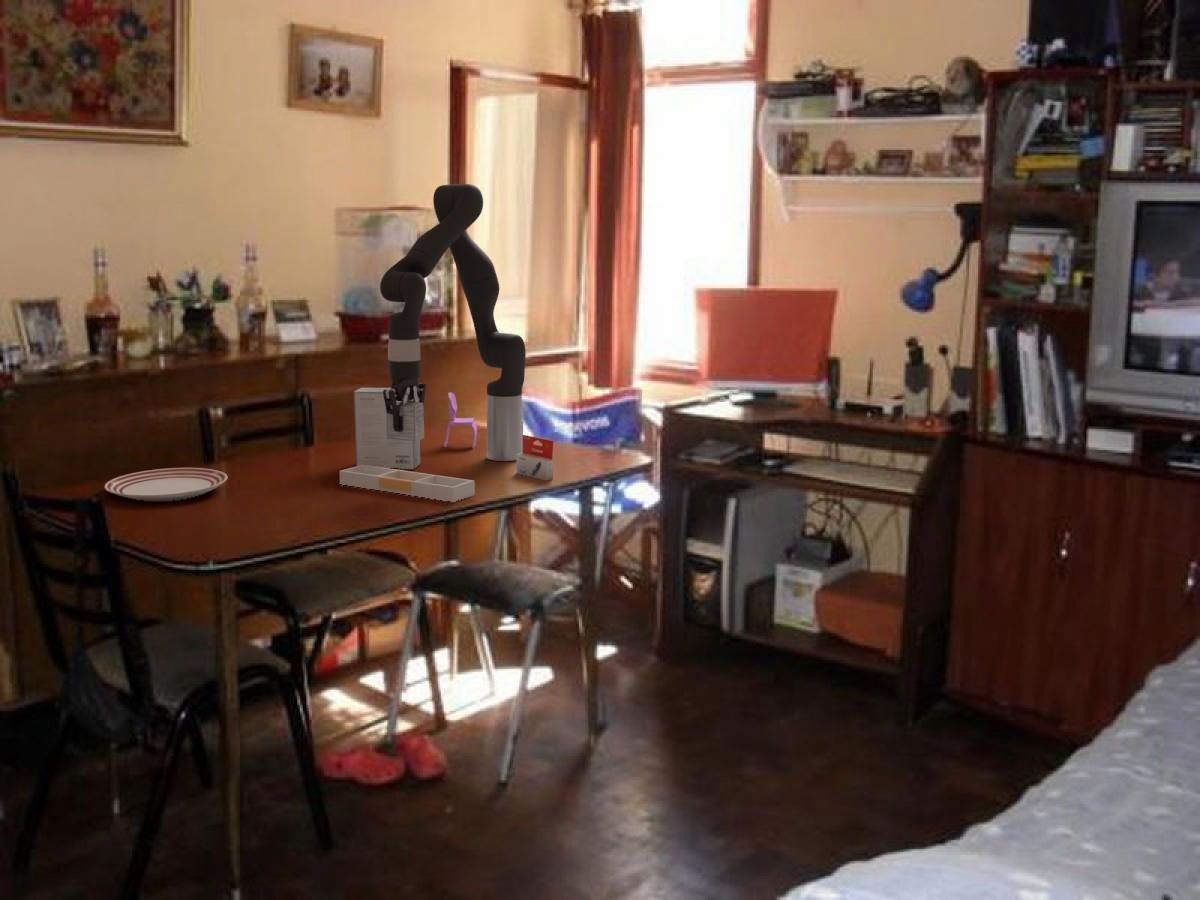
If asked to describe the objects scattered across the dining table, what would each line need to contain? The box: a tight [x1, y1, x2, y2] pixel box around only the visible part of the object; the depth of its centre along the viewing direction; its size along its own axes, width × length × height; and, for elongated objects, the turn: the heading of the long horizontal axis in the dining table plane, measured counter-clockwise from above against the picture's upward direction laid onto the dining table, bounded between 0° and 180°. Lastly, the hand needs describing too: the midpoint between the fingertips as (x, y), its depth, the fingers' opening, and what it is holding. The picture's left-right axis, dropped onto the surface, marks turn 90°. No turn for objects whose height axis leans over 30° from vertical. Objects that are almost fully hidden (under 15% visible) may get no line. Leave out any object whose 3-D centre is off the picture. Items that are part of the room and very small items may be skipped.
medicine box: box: [386, 401, 425, 441], centre depth 315 cm, size 8×4×9 cm, turn 71°
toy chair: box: [442, 391, 478, 449], centre depth 369 cm, size 8×9×15 cm
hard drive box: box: [353, 387, 422, 470], centre depth 342 cm, size 16×8×20 cm, turn 84°
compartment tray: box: [339, 465, 476, 503], centre depth 318 cm, size 9×33×4 cm, turn 61°
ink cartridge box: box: [516, 434, 554, 481], centre depth 334 cm, size 2×11×10 cm, turn 47°
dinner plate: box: [104, 467, 229, 502], centre depth 313 cm, size 28×27×3 cm
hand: (405, 429), depth 315 cm, fingers closed on medicine box, 5 cm apart
